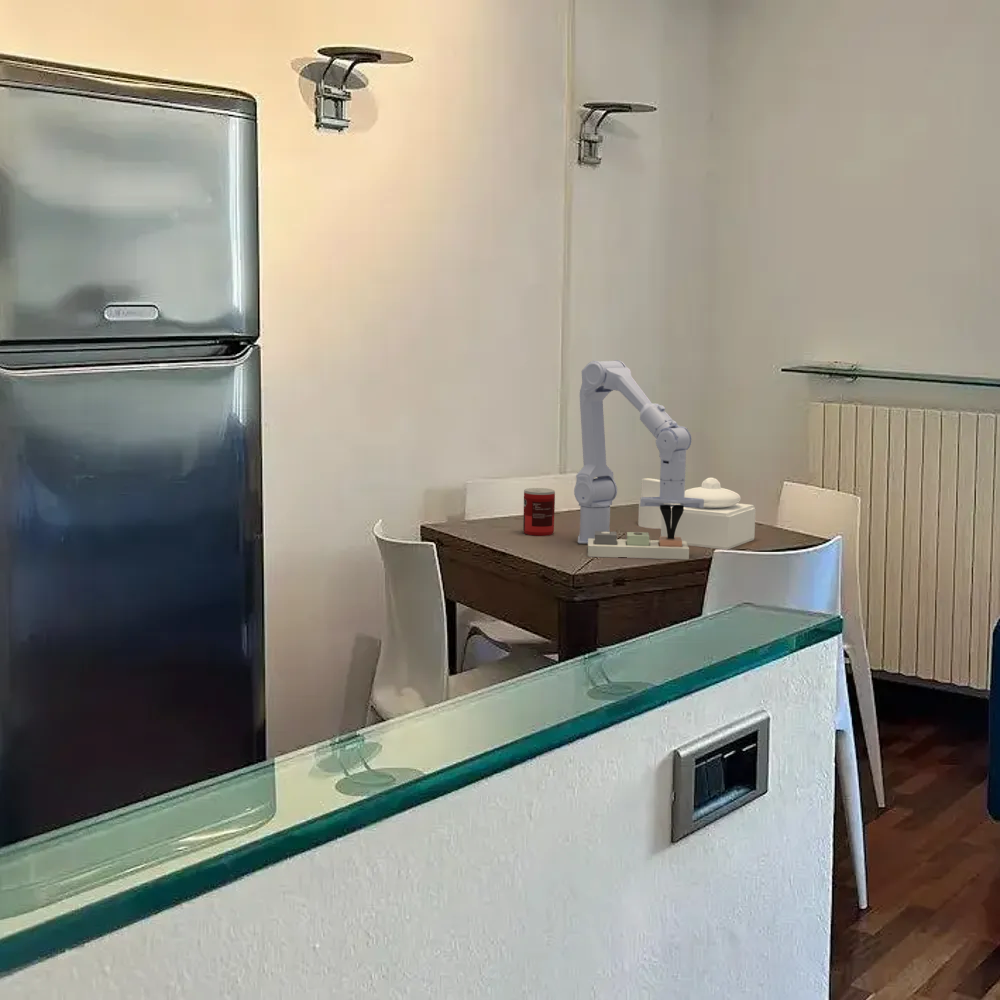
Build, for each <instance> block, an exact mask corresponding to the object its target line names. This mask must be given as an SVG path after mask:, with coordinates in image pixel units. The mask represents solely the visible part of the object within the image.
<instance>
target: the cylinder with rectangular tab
mask: <svg viewBox="0 0 1000 1000" xmlns="http://www.w3.org/2000/svg"><path fill="white" fill-rule="evenodd" d="M640 490H641V491H640V493H641V494H640V497H660V479H659V478H658V479H657V478H650V477H649V478H647V477H645V478H641V489H640ZM664 504H667V503H664ZM661 514H662V512H661V510H660V507H659V506H645V507H640V501H639V502H638V519H637V520H638V521H637V522H638V527H641V528H646V529H654V530H655V529H656V530H657V529H660V530H661Z"/></svg>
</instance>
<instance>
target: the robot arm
mask: <svg viewBox="0 0 1000 1000" xmlns="http://www.w3.org/2000/svg"><path fill="white" fill-rule="evenodd" d="M581 382H582V383H581V385H580V389H579V406H580V407H579V410H580V411H579V412H580V425H581V441H582V459H583V460H582V461H583V467H582V468H581V469H579V471H578V472H577V474H576V475H575V477H576V478H575V479H576V481H575V485H574V490H573V494H574V497H575V500H576V502H577V503H578V506H580V507H579V508H580V510H579V511H580V512H579V516H580V517H579V519H580V520H579V535H578V537H577V543H578V544H587V545H588V538H591V539H595V531H607V532H611V531H610V529H611V528H610V526H611V525H610V523H611V506H612V505H613V501H614V500H615V499H616V497H617V495H618V486H617V483H616V481H615V478H614V477H615V476H614V471H613V470H612V469H611V468H610V467H609V466H608V465H607V453H606V452H607V451H606V437H605V436H606V435H605V433H606V432H605V421H604V419H605V418H604V415H605V414H604V399H605V398H606V397H608V395H609V394H610V393H611V392H613V391H618V392H619V393H620V394H621V395H623V397H624V398H625V399H626V400H627V401H628V402H629V403H630V404H631V405H632V406H633V407H634V408H635V409H636V410H637V411H638V412H639V420H640V422H641V423H642V424H643V425H644V427H646V429H647V430H648V431H649V433H650V434H651V435H652V436H653V437H654V438H655V446H656V448H657V449H658V451H659V453H658V454H659V455H658V456H659V458H660V474H659V480H660V497H641V496H640V499H639V500H640V501H639V502H640V507H645V506H659V507H660V510H661V512H662V515H663V517H664V520H665V524H666V528H667V537H668V538H670V539H674V535H675V530H676V527H677V524H678V522H679V520H680V517H681V515H682V514H683V511H684V509H683V508H684V507H699V508H704V499H698V498H684V497H685V489H686V488H685V487H686V468H687V467H686V466H687V465H686V463H687V462H686V461H687V460H686V459H687V450H688V449H689V448H690V447H691V445H692V441H693V439H692V434H691V432H690V430H688V428H687V427H686V426H683V425H679V424H678V422H677V421H676V420H673V418H672V417H671V416H670V415H669V414H668V412H666V407H665V406H664V405H663V404H661V405H660V403H658V402H657V403H656V402H655V403H652V401H651V400H650V399H649V398H648V396H647V395H646V394H645V392H644V391H643V389H642V388H641V387H640V385H639V384H638V383H637V382H636V380H635V379H634V378H633V376H632V370H631V369H630V368H629V367H628V366H627V365H626V364H625V363H624V362H623V361H622V360H619V359H615V360H603V361H601V360H592V361H590V362H588V363H587V364H586V365H585V366H584V368H583V369H582V370H581ZM664 503H667V504H664ZM679 504H682V505H679ZM671 507H672V524H671Z"/></svg>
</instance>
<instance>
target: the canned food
mask: <svg viewBox="0 0 1000 1000" xmlns="http://www.w3.org/2000/svg"><path fill="white" fill-rule="evenodd" d="M555 495H556V491H555V490H554V489H552V488H544V487H530V488H526V489H524V490H523V525H522V526H523V527H522V528H523V529H522V530H523V532H524V534H525V535H528V536H534V537H535V536H536V537H545V536H551V535H553V534H554V531H555V508H556V507H555V506H556V505H555V504H556V503H555V502H556V496H555Z"/></svg>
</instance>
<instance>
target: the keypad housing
mask: <svg viewBox="0 0 1000 1000" xmlns="http://www.w3.org/2000/svg"><path fill="white" fill-rule="evenodd" d="M587 557H588V558H589V557H590V558H618V557H627V558H626V559H630V558H631V559H652V560H653V559H655V560H656V559H661V560H689V559H690V548H689V545H688V544H687V542H686V541H682V547H670V546H659V539H655V540H654V539H653V540H652V539H649V546H634V545H627V538H626V539H623V538H622V539H621V538H619V539H617V540H616V545H599V544H595V539H591V538H588V544H587Z"/></svg>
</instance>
